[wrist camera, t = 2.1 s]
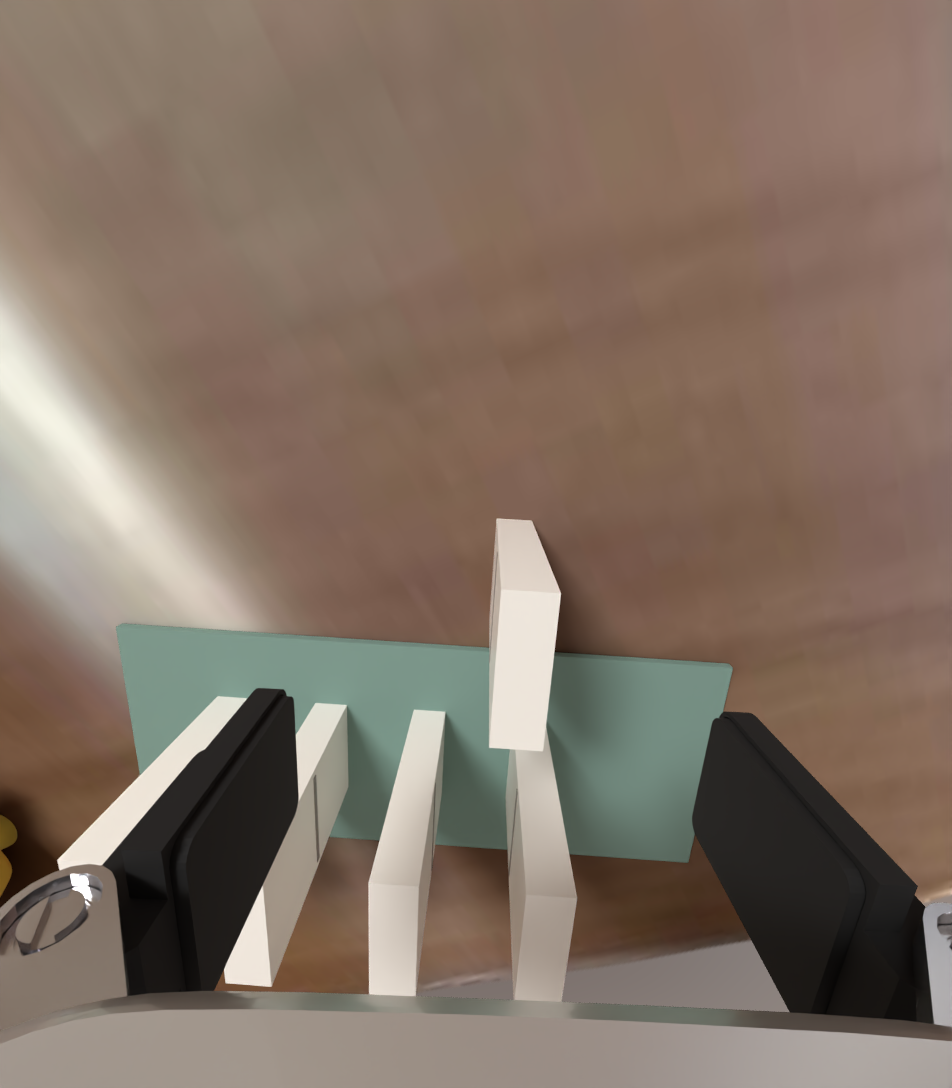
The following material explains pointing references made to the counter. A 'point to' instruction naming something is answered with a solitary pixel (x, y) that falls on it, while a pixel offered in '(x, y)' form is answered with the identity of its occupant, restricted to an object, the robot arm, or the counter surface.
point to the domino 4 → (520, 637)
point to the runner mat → (457, 727)
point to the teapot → (4, 835)
